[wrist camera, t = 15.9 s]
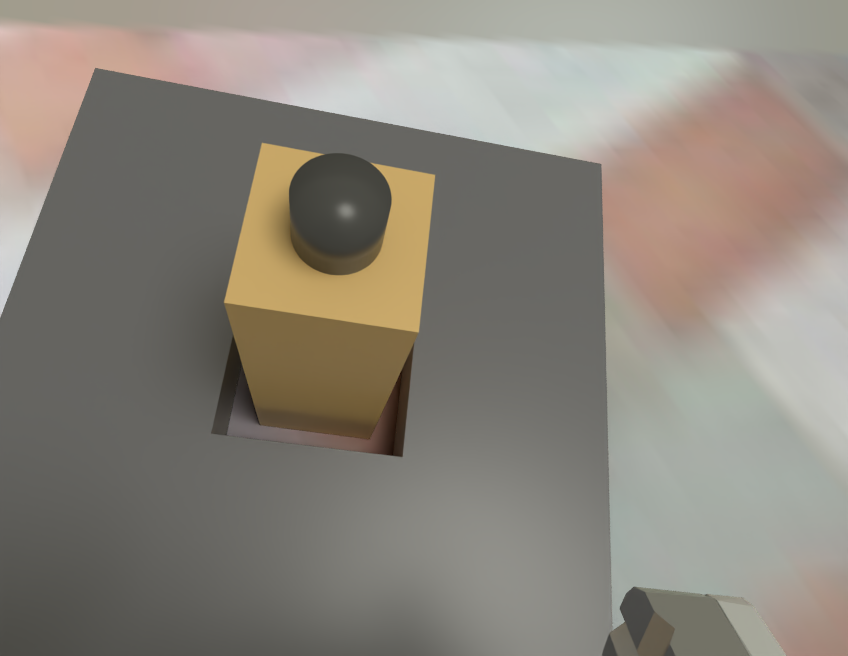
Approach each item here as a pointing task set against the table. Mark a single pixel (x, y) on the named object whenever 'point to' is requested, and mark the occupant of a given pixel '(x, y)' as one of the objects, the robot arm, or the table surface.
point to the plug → (328, 287)
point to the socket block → (284, 462)
